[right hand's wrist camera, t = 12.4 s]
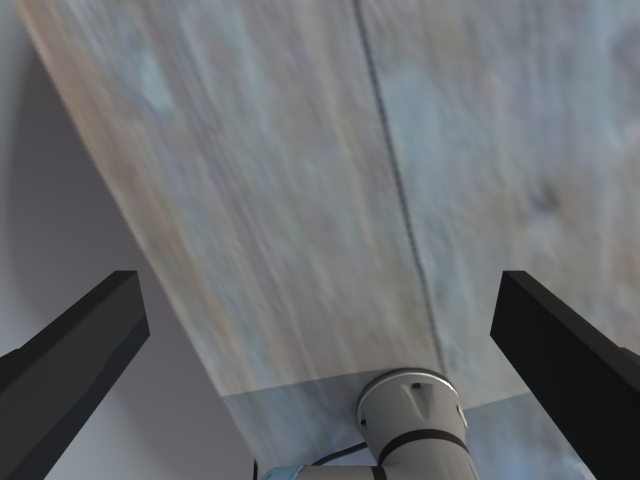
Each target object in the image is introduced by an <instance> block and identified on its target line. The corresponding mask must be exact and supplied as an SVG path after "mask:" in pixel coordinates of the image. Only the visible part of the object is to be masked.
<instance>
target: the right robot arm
mask: <svg viewBox="0 0 640 480" xmlns="http://www.w3.org/2000/svg"><path fill="white" fill-rule="evenodd" d="M149 336H150V331H149V327H148V322H147V317H146V312H145V308H144V303H143V298H142V293H141V288H140V283H139V279H138V274H137V271H114V272H113V273H112V274H111V275H109V276H108V277H107V278H106V279H105V280H103V281H102V282H101V283H100V284H98V285H97V286H96V287H95V288H93V289H92V290H91V291H90V292H89V293H87V294H86V295H85V296H84V297H82V298H81V299H80V300H79V301H77V302H76V303H75V304H74V305H72V306H71V307H70V308H69V309H68V310H66V311H65V312H64V313H63V314H61V315H60V316H59V317H58V318H56V319H55V320H54V321H53V322H52V323H50V324H49V325H48V326H47V327H45V328H44V329H43V330H42V331H40V332H39V333H38V334H37V335H35V336H34V337H33V338H32V339H31V340H29V341H28V342H27V343H26V344H24V345H23V346H22V347H21V348H19V349H15V350H13V351H11V352H10V353H8V354H6V355H4V356H2V357H0V480H44V478H45V477H46V475H47V474H48V473H49V472H50V470H51V469H52V467H53V466H54V465H55V463H56V462H57V461H58V459H59V458H60V457H61V455H62V454H63V453H64V451H65V450H66V448H67V447H68V446H69V444H70V443H71V442H72V440H73V439H74V438H75V436H76V435H77V434H78V432H79V431H80V429H81V428H82V427H83V425H84V424H85V423H86V421H87V420H88V419H89V417H90V416H91V415H92V413H93V412H94V410H95V409H96V408H97V406H98V405H99V404H100V402H101V401H102V400H103V398H104V397H105V396H106V394H107V393H108V392H109V390H110V389H111V387H112V386H113V385H114V383H115V382H116V381H117V379H118V378H119V377H120V375H121V374H122V373H123V371H124V370H125V368H126V367H127V366H128V364H129V363H130V362H131V360H132V359H133V358H134V356H135V355H136V354H137V352H138V351H139V350H140V348H141V347H142V345H143V344H144V343H145V341H146V340H147V339H148V337H149ZM490 336H491V337H492V339H493V340H494V341H495V343H496V344H497V345H498V347H499V348H500V350H501V351H502V352H503V354H504V355H505V356H506V358H507V359H508V360H509V362H510V363H511V364H512V366H513V367H514V368H515V370H516V371H517V373H518V374H519V375H520V377H521V378H522V379H523V381H524V382H525V383H526V385H527V386H528V387H529V389H530V390H531V392H532V393H533V394H534V396H535V397H536V398H537V400H538V401H539V402H540V404H541V405H542V406H543V408H544V409H545V411H546V412H547V413H548V415H549V416H550V417H551V419H552V420H553V421H554V423H555V424H556V425H557V427H558V428H559V430H560V431H561V432H562V434H563V435H564V436H565V438H566V439H567V440H568V442H569V443H570V444H571V446H572V447H573V448H574V450H575V451H576V453H577V454H578V455H579V457H580V458H581V459H582V461H583V462H584V463H585V465H586V466H587V467H588V469H589V470H590V472H591V473H592V474H593V476H594V477H595V478H596V480H640V356H639V355H637V354H635V353H633V352H631V351H630V350H628V349H626V348H619V347H618V346H617V345H616V344H614V343H613V342H612V341H611V340H609V339H608V338H607V337H606V336H605V335H603V334H602V333H601V332H600V331H598V330H597V329H596V328H595V327H593V326H592V325H591V324H590V323H588V322H587V321H586V320H585V319H584V318H582V317H581V316H580V315H579V314H577V313H576V312H575V311H574V310H572V309H571V308H570V307H569V306H568V305H566V304H565V303H564V302H563V301H561V300H560V299H559V298H558V297H556V296H555V295H554V294H553V293H551V292H550V291H549V290H548V289H547V288H545V287H544V286H543V285H542V284H540V283H539V282H538V281H537V280H535V279H534V278H533V277H532V276H531V275H529V274H528V273H527V272H526V271H503V274H502V279H501V283H500V288H499V293H498V298H497V303H496V307H495V312H494V317H493V322H492V327H491V331H490ZM357 417H358V424H359V427H360V431H361V433H362V436H363V438H364V439H365V441H366V442H363V443H361V444H358V445H356V446H353V447H350V448H348V449H345V450H342V451H339V452H336V453H333V454H331V455H328V456H326V457H324V458H322V459H320V460H318V461H316V462H315V463H313V464H312V465H311V466H307V464H301V465H299V466H287V467H275V468H273V469H271V470H269V471H268V472H267V473H266V474H265V475H264V476H263V478H262V480H481V479H480V477H479V475H478V472H477V470H476V468H475V466H474V463H473V461H472V459H471V457H470V454H469V452H468V450H467V447H466V442H465V428H464V423H465V425H466V427H467V422H466V420H465V417H464V415H463V408H462V404H461V400H460V398H459V396H458V394H457V392H456V390H455V388H454V386H453V385H452V384H451V383H450V382H449V381H448V380H447V379H446V378H445V377H443V376H442V375H440V374H438V373H435V372H433V371H430V370H426V369H420V368H405V369H399V370H395V371H391V372H388V373H386V374H384V375H382V376H380V377H378V378H377V379H375V380H374V381H372V382H371V383H370V384H369V385H368V386H367V387H366V388H365V389H364V391H363V392H362V394H361V396H360V398H359V400H358V404H357ZM367 447H369V449H370V451H371V453H372V455H373V457H374V459H375V461H376V463H377V465H378V466H321V465H323V464H325V463H327V462H329V461H331V460H333V459H336V458H339V457H342V456H345V455H348V454H351V453H354V452H356V451H359V450H361V449H364V448H367ZM257 476H258V464H257V462H256V460H255V457H254V471H253V480H257Z"/></svg>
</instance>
